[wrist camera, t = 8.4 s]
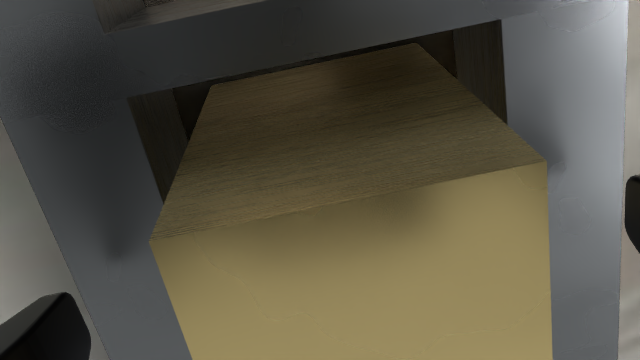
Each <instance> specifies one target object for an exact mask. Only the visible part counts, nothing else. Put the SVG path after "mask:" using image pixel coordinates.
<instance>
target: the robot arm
mask: <svg viewBox="0 0 640 360" xmlns="http://www.w3.org/2000/svg"><path fill="white" fill-rule="evenodd" d="M625 229H626V232H627V234H628V237H629V238H630V240H631V242H632V243H633V245H634V246H635V247H636V249H637V250H638V252H639V253H640V174H639V175H634V176H632V177H630V178H629V179H628V181H627V183H626V192H625ZM90 349H91V337H90V333H89V330H88V328H87V326H86V324H85V321H84V319H83V317H82V315H81V313H80V311H79V308H78V306H77V304H76V302H75V300H74V298H73V297H72V296H71V295H70V294H69V293H66V292H62V293H57V294H52V295H47V296H43V297H41V298H39V299H38V300H36V301H35V302H33V303H32V304H30V305H29V306H27V307H26V308H25V309H23V310H22V311H20V312H19V313H17V314H16V315H14V316H13V317H11V318H10V319H9V320H7V321H6V322H4V323H3V324H1V325H0V360H89V355H90Z"/></svg>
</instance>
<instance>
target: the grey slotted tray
mask: <svg viewBox="0 0 640 360" xmlns="http://www.w3.org/2000/svg"><path fill="white" fill-rule="evenodd" d="M628 2H629V0H177V1H172V2H167V3H163V4H158V5H153V6H148V7H146V6H145V3H144V0H0V117H1V119H2V122H3V124H4V126H5V128H6V130H7V133H8V135H9V137H10V139H11V142H12V144H13V146H14V148H15V150H16V153H17V155H18V157H19V159H20V161H21V164H22V166H23V168H24V170H25V173H26V175H27V177H28V179H29V181H30V184H31V186H32V188H33V190H34V192H35V195H36V197H37V199H38V201H39V204H40V206H41V208H42V210H43V212H44V215H45V217H46V219H47V221H48V223H49V226H50V228H51V230H52V232H53V234H54V237H55V239H56V241H57V243H58V246H59V248H60V250H61V252H62V254H63V257H64V259H65V261H66V263H67V265H68V268H69V270H70V272H71V274H72V277H73V279H74V281H75V283H76V285H77V288H78V290H79V292H80V294H81V296H82V299H83V301H84V303H85V305H86V307H87V310H88V312H89V314H90V316H91V319H92V321H93V323H94V325H95V327H96V330H97V332H98V334H99V336H100V338H101V341H102V343H103V345H104V347H105V350H106V352H107V354H108V356H109V358H110V360H192V357H191V354H190V351H189V349H188V346H187V343H186V341H185V338H184V335H183V333H182V330H181V327H180V325H179V322H178V319H177V316H176V314H175V311H174V308H173V306H172V303H171V300H170V298H169V295H168V292H167V290H166V287H165V284H164V281H163V279H162V276H161V273H160V271H159V268H158V265H157V263H156V260H155V257H154V255H153V252H152V249H151V246H150V244H149V240H150V237H151V235H152V232H153V230H154V227H155V225H156V222H157V220H158V217H159V215H160V212H161V210H162V207H163V205H164V203H165V200H166V198H167V195H168V193H169V190H170V188H171V185H172V183H173V180H174V178H175V175H176V173H177V170H178V168H179V165H180V163H181V160H182V158H183V155H184V153H185V150H186V148H187V145H188V140H187V137H186V134H185V130H184V127H183V124H182V121H181V118H180V114H179V111H178V108H177V105H176V102H175V99H174V95H173V92H172V89H171V88H175V87H180V86H185V85H190V84H194V83H199V82H204V81H209V80H214V79H218V78H223V77H228V76H233V75H237V74H242V73H247V72H252V71H256V70H261V69H266V68H271V67H275V66H280V65H285V64H290V63H294V62H299V61H304V60H309V59H314V58H318V57H323V56H328V55H333V54H337V53H342V52H347V51H352V50H356V49H361V48H366V47H371V46H375V45H380V44H385V43H390V42H394V41H399V40H404V39H409V38H413V37H418V36H423V35H428V34H433V33H437V32H442V31H447V30H452V29H453V38H454V48H455V59H456V69H457V79H458V81H459V82H460V83H461V84H462V85H463V86H465V87H466V88H467V89H468V90H469V91H470V92H471V93H472V94H473V95H475V96H476V97H477V98H478V99H479V100H480V101H481V102H482V103H483V104H484V105H486V106H487V107H488V108H489V109H490V110H491V111H492V112H493V113H494V114H496V115H497V116H498V117H499V118H500V119H501V120H502V121H503V122H504V123H505V124H507V125H508V126H509V127H510V128H511V129H512V130H513V131H514V132H515V133H516V134H518V135H519V136H520V137H521V138H522V139H523V140H524V141H525V142H526V143H528V144H529V145H530V146H531V147H532V148H533V149H534V150H535V151H536V152H537V153H539V154H540V155H541V156H542V157H543V158H544V159H545V160H546V161H547V184H548V219H549V254H550V288H551V323H552V357H553V360H618V329H619V296H620V263H621V231H622V198H623V165H624V132H625V100H626V67H627V34H628Z"/></svg>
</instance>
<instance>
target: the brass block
mask: <svg viewBox="0 0 640 360" xmlns="http://www.w3.org/2000/svg"><path fill="white" fill-rule="evenodd" d="M149 244H150V246H151V249H152V252H153V255H154V257H155V260H156V263H157V265H158V268H159V271H160V273H161V276H162V279H163V281H164V284H165V287H166V290H167V292H168V295H169V298H170V300H171V303H172V306H173V308H174V311H175V314H176V316H177V319H178V322H179V325H180V327H181V330H182V333H183V335H184V338H185V341H186V343H187V346H188V349H189V351H190V354H191V357H192V360H553V357H552V323H551V288H550V254H549V219H548V184H547V161H546V160H545V159H544V158H543V157H542V156H541V155H540V154H539V153H537V152H536V151H535V150H534V149H533V148H532V147H531V146H530V145H529V144H528V143H526V142H525V141H524V140H523V139H522V138H521V137H520V136H519V135H518V134H516V133H515V132H514V131H513V130H512V129H511V128H510V127H509V126H508V125H507V124H505V123H504V122H503V121H502V120H501V119H500V118H499V117H498V116H497V115H496V114H494V113H493V112H492V111H491V110H490V109H489V108H488V107H487V106H486V105H484V104H483V103H482V102H481V101H480V100H479V99H478V98H477V97H476V96H475V95H473V94H472V93H471V92H470V91H469V90H468V89H467V88H466V87H465V86H463V85H462V84H461V83H460V82H459V81H458V80H457V79H456V78H455V77H454V76H452V75H451V74H450V73H449V72H448V71H447V70H446V69H445V68H444V67H443V66H441V65H440V64H439V63H438V62H437V61H436V60H435V59H434V58H433V57H431V56H430V55H429V54H428V53H427V52H426V51H425V50H424V49H423V48H422V47H420V46H419V45H418V44H417V43H413V44H408V45H403V46H399V47H394V48H389V49H384V50H379V51H375V52H370V53H365V54H360V55H355V56H351V57H346V58H341V59H336V60H331V61H327V62H322V63H317V64H312V65H307V66H303V67H298V68H293V69H288V70H283V71H279V72H274V73H269V74H264V75H259V76H255V77H250V78H245V79H240V80H235V81H231V82H226V83H221V84H216V85H212V86H211V88H210V91H209V93H208V96H207V98H206V101H205V103H204V106H203V108H202V111H201V113H200V116H199V118H198V121H197V123H196V126H195V128H194V131H193V133H192V135H191V138H190V140H189V143H188V145H187V148H186V150H185V153H184V155H183V158H182V160H181V163H180V165H179V168H178V170H177V173H176V175H175V178H174V180H173V183H172V185H171V188H170V190H169V193H168V195H167V198H166V200H165V203H164V205H163V207H162V210H161V212H160V215H159V217H158V220H157V222H156V225H155V227H154V230H153V232H152V235H151V237H150V240H149Z"/></svg>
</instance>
